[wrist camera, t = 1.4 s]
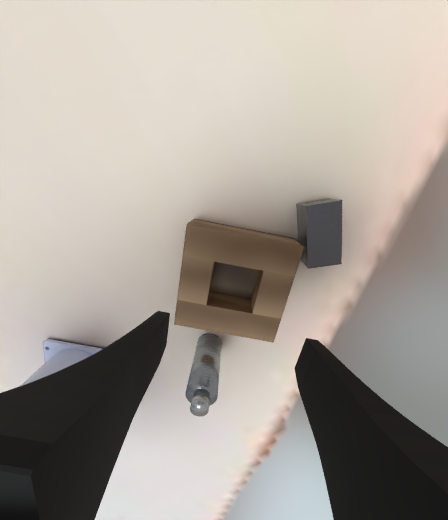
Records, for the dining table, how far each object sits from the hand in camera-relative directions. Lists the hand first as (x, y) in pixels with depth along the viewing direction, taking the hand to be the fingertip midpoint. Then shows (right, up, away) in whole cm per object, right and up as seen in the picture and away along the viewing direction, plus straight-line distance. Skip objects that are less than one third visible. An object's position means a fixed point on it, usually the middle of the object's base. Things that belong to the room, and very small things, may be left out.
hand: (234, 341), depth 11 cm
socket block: (0, +3, +9) cm, 10 cm away
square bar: (+7, +7, +8) cm, 13 cm away
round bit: (-2, -5, +12) cm, 13 cm away
